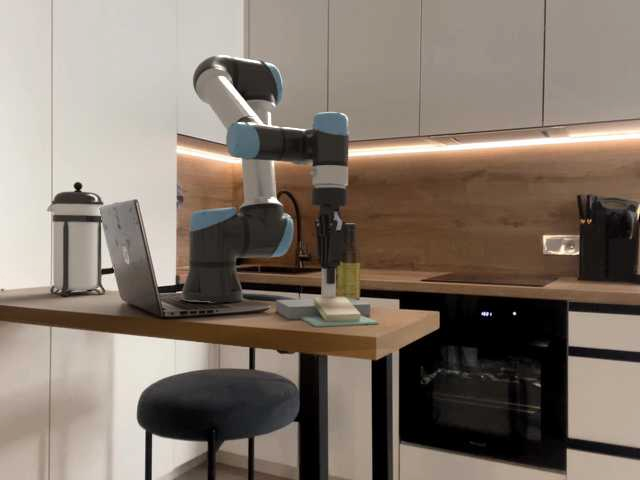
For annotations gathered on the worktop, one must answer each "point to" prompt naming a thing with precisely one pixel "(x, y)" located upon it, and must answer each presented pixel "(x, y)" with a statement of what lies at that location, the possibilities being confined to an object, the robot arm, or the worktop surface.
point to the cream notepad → (336, 309)
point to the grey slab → (312, 308)
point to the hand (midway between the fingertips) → (328, 298)
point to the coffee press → (77, 242)
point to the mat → (320, 322)
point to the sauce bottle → (349, 266)
